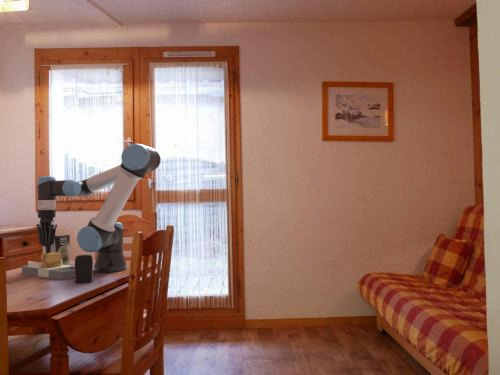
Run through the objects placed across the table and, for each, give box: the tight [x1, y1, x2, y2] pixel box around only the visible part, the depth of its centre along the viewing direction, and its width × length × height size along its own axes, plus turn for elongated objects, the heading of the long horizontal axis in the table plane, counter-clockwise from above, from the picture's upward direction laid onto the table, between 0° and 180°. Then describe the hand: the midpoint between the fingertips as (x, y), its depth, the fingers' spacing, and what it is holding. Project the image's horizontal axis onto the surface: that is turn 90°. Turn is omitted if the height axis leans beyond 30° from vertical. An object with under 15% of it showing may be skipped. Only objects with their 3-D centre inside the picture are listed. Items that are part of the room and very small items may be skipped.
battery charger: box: [74, 253, 94, 284], centre depth 166 cm, size 7×4×11 cm, turn 109°
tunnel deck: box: [21, 259, 75, 281], centre depth 184 cm, size 31×12×6 cm, turn 59°
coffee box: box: [50, 234, 71, 265], centre depth 206 cm, size 9×6×16 cm
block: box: [40, 252, 61, 268], centre depth 185 cm, size 6×6×6 cm
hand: (46, 259), depth 187 cm, fingers closed
